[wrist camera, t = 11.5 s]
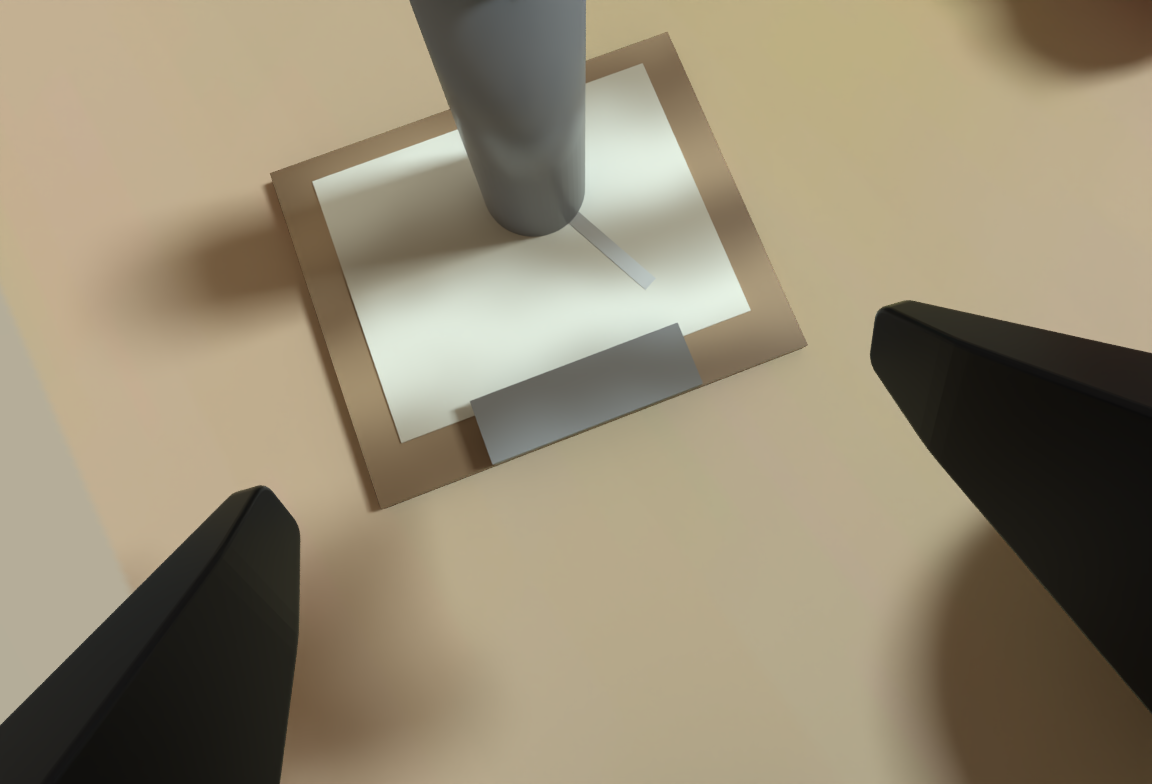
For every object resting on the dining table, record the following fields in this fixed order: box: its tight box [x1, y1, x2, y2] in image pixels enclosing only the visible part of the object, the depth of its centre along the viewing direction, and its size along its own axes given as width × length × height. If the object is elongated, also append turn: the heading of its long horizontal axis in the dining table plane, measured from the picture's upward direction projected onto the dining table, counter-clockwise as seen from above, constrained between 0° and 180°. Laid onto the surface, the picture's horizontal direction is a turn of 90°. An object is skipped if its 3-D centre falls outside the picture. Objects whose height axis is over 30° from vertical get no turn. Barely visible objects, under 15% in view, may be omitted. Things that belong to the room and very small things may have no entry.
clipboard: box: [270, 32, 807, 509], centre depth 22 cm, size 14×17×2 cm
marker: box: [410, 0, 586, 237], centre depth 16 cm, size 4×4×13 cm
